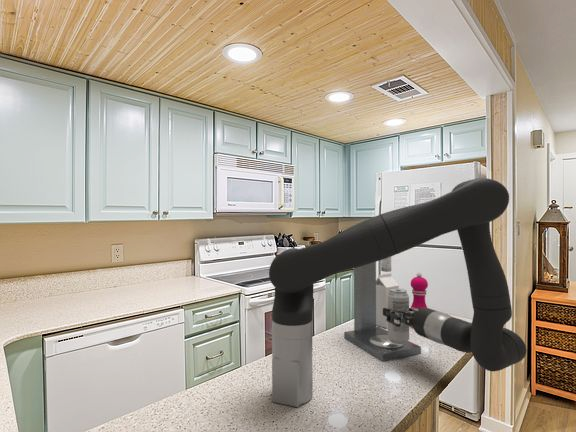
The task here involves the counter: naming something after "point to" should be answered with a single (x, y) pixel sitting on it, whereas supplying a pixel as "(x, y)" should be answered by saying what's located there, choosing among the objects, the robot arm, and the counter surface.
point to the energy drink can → (396, 302)
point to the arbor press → (373, 318)
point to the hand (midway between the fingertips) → (392, 310)
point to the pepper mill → (419, 291)
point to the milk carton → (383, 297)
